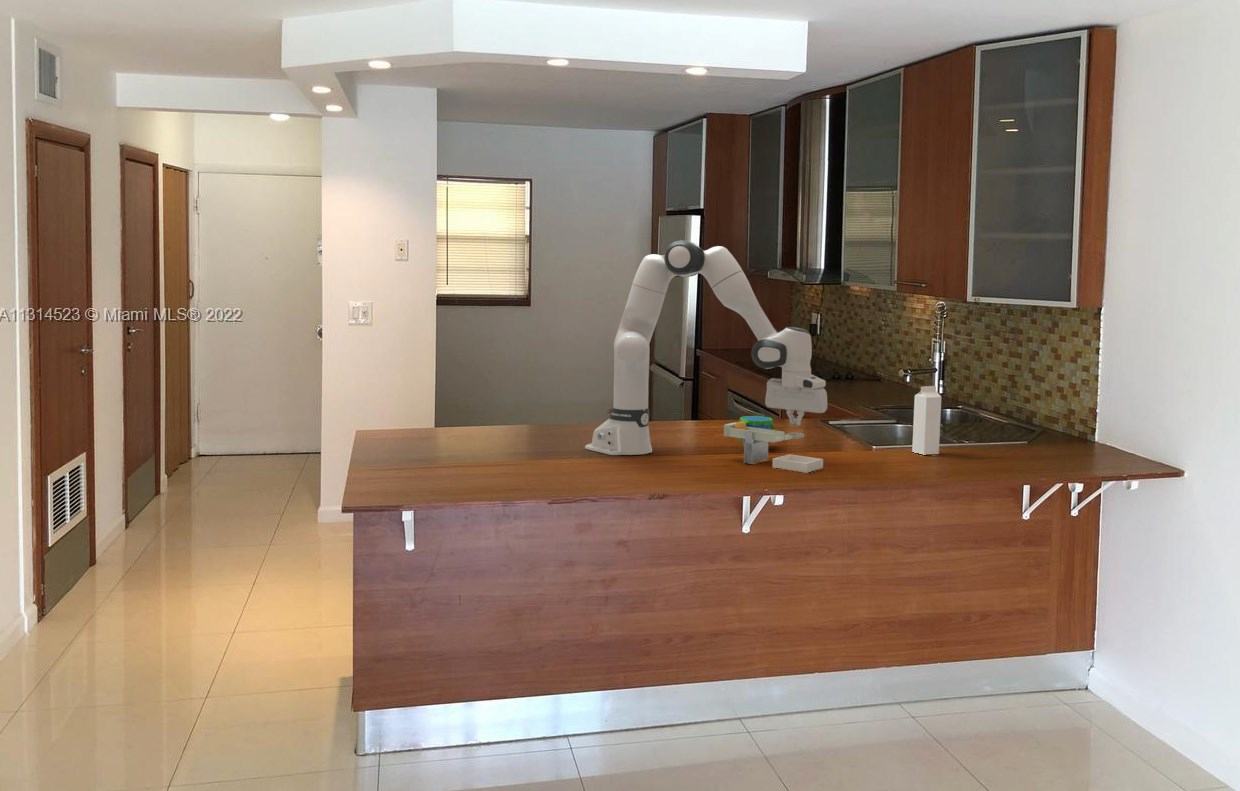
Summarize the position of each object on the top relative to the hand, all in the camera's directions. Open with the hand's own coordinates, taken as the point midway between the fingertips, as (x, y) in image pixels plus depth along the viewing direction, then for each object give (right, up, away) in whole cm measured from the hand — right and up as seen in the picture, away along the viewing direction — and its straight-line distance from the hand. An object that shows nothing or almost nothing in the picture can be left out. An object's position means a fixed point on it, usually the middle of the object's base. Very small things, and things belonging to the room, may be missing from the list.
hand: (795, 424), depth 339 cm
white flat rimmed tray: (-1, -13, -11) cm, 17 cm away
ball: (-17, -1, +1) cm, 17 cm away
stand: (-12, -12, -2) cm, 17 cm away
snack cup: (-9, -9, +22) cm, 26 cm away
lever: (-9, -4, +1) cm, 10 cm away
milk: (+44, -10, +15) cm, 48 cm away
